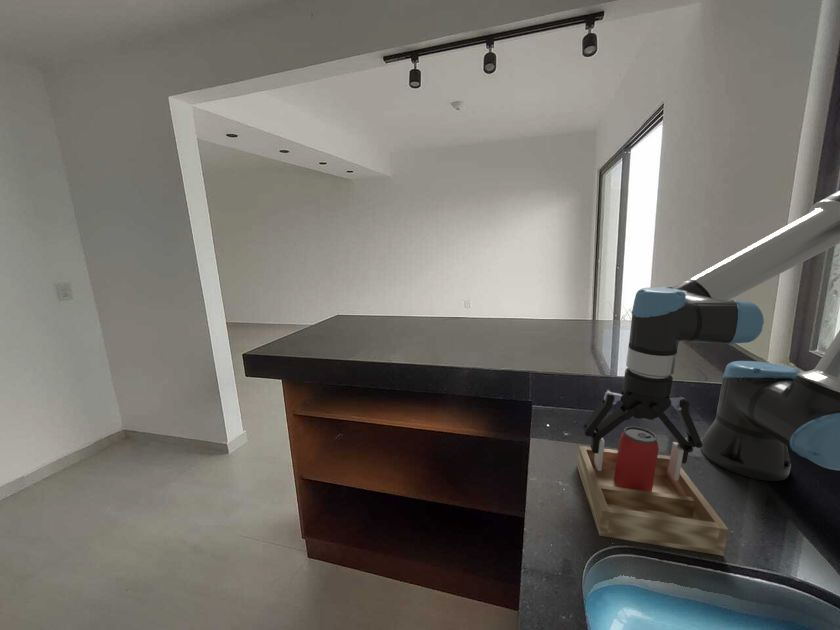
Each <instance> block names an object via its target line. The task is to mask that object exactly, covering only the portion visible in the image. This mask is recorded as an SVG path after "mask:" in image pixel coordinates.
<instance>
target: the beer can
mask: <svg viewBox="0 0 840 630" xmlns="http://www.w3.org/2000/svg"><path fill="white" fill-rule="evenodd" d="M657 440H658V437H657V435H656V434H655V433H654V432H652V431H650V430H648V429H646V428H643V427H639V426H626V427H625V428H623V432H622V433H621V435H620V437H619V441H618V446H617V450H618V454H617V461H616V469H615V476H614V481H615V484H616V485H617V486H618V487H620V488H627V489H635V490H642V491H650V492H652V487H653V481H654V475H655V469H656V463H657V456H658V455H659V450H660V449H659V444H658V441H657Z"/></svg>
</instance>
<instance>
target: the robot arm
mask: <svg viewBox="0 0 840 630" xmlns="http://www.w3.org/2000/svg"><path fill="white" fill-rule="evenodd" d="M839 244H840V190H837V191H836V192H834V193H832V194H830V195H829V196H826V197H825V198H823V199H821V200H819V201H817V202H816V203H814V204H813V205H811V207H810V208H809V210H808V213H807V214H805V215H803V216H801V217H800V218H797V219H796V220H794V221H792V222H790V223H789V224H786V225H784V226H783V227H781V228H780V229H778V230H775V231H774V232H772V233H770V234H768V235H766V236H765V237H763V238H761V239H759V240H758V241H756V242H754V243H752V244H749V246H747V247H745V248H743V249H740V250H739V251H737V252H735V253H734V254H732V255H730V256H728V257H727V258H725V259H722V261H719V262H717V263H714V264H713V265H712V266H710V267H708V268H706V269H704V270H703V271H701V272H699V273H697V274H695V275H693V276H691V277H690V278H688V279H686V280H684V281H682V282H680V283H679V284H677V285H675V286H661V287H660V286H659V287H656V286H655V287H653V286H652V287H644V288H641V289H638V290H637V292H635V293H636V294H635V297H634V300H633V306H632V309H631V321H630V332H629V339H628V340H629V341H628V347H627V355H626V364H625V366H626V367H627V368H625V370H624V377H623V387H622V391H621V392H620V393H618V392H612V391H611V390H610V389H605V390H604V391H603V395H602V399H601V401H600V402H599V403H598V404H597V406H596V407H595V408H594V410H593V411H592V413H591V414H590V416H589V417H588V418H587V420H586V421H585V422H584V423H583V425H582V428H581V429H582V430H583V433H584V435H585V436H586V437H591V438H590V447H591V449H592V452H593V453H595V457H594V463H595V466H596V468H597V470H598V471H601V469H602V461H603V452H604V449H605V442H606V441H605V440H604V437H605V436H607V435H608V434H609V433H611V431H613V430H614V429H615V428H617V427H618V426H619V425H621V424H622V423H623V422H624V421H628V420H630V419H631V418H632V417H633V418H635V419H641V420H642V419H646V420H651V421H654V420H655V419H656V418H657V419H660V421H661V422H662V423H663V425H664V426H665V427H666V428H667V430H668V431H669V432H670V433H671V434H672V436H673V437H674V438H675V440H676V441H677V442H676V441H672V442H671V443H672V445H671V450H670V454H669V456H670V461H669V467H668V472H669V473H670V475H671V476H672V478H673V479H674V480H677V481H679V475H680V469H681V468H682V464H686V463H688V457H689V453H692V452H693V450H694V448H697V449H700V451H701V452H702V454H703V456H705V457H706V458H707V459H708V460H710V461H711V462H713V463H714V464H716V465H718V466H719V467H722V468H724V469H725V470H727V471H730V472H733V473H735V474H738V475H740V476H744V477H747V478H750V479H755V480H761V481H765V482H766V481H768V482H769V481H770V482H779V481H784V480H786V479H788V478H789V475H790V472H791V468H792V464H791V457H790V454H789V451H788V448H790V449H791V450H792V451H793V452H794V453H795V454H797V455H798V456H800V457H802V458H806V459H807V460H809V461H810V462H812V463H814V464H815V465H818V466H819V467H822V468H825V469H828V470H832V471H833V470H834V471H839V472H840V329H839V330H838V332H837V334H836V335H835V336H834V338H833V339H832V341H831V343H830V344H829V346H828V348H826V350H825V352H824V354H823V355H822V357H821V358H820V359H819V361H818V363H817V364H816V366H815V367H814V368H813V369H811V370H807V371H806V370H805V371H802V372H801V371H800V369H798V368H795V367H793V366H787V365H783V364H777V363H772V362H763V361H755V360H736V361H731V362H729V363H728V364H727V365H726V367H725V369H724V372H723V375H722V376H721V378H722V381H721V387H720V393H719V398H718V399H719V400H718V404H717V408H716V409H717V410H716V415H715V419H714V420H713V422H712V423H711V425H710V426H709V427H708V429H707V430H706V431H705V433H704V435H703V436H702V438H700V435H699V433H698V430H697V428H696V426H695V424H694V421H693V418H692V416H691V414H690V402H689V401H688V400H687V399H686V398H685V397H683V396H682V395H680V394H679V395H676V396H675V397H670V395H671V391H672V386H673V380H674V378H673V376H672V375H674V373H675V368H676V359H677V354H678V349H679V348H678V347H679V344H680V342H681V343H682V342H683V343H706V344H708V343H709V344H713V343H714V344H727V345H732V344H748V343H751V342H754V341H755V340H756V339H757V338H758V337H759V336H760V335H761V333H762V331H763V327H764V324H765V323H764V322H765V321H764V315H763V311H762V310H761V309H760V307H759V306H758V305H757V304H755V303H753V302H752V301H746V300H745V301H744V300H737V299H734V298H736V297H738V296H740V295H741V294H743V293H746V292H747V291H749V290H751V289H753V288H755V287H757V286H759V285H761V284H763V283H765V282H767V281H768V280H771V279H773V278H774V277H776V276H777V277H778V276H779V275H781V274H782V273H784V272H786V271H788V270H790V269H792V268H794V267H797V266H798V265H800V264H802V263H803V262H805V261H807V260H810V259H812V258H813V257H815V256H817V255H819V254H822V253H823V252H825V251H827V250H829V249H830V248H833V247H835V246H838V245H839ZM619 401H620V403H621V404H619V405H618V406H617V408H616V410H614V411H613V412H612V413H611V414H609V412H610V410H611V409H612V407H613V405H617V402H619ZM671 406H672V407H673V409H675V410H676V413H677V415H678V417H679V420H680V421H681V424H682V426H683V429H684V431H685V433H686V435H687V437H684V436H683V435H682V433H681V432H680V431H679V430H678V428H677V427H676V425H674V423H673V422H672V421H671V420H670V418H669V417H668V416H667V415H666V414H665V411H667V409H669V408H670V407H671ZM608 414H609V415H608ZM607 415H608V416H607ZM606 416H607V417H606ZM605 417H606V418H605Z"/></svg>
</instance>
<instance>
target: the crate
mask: <svg viewBox="0 0 840 630" xmlns="http://www.w3.org/2000/svg"><path fill="white" fill-rule="evenodd" d="M617 454H618V449H611V448H610V449H609V448H604V452H603V461H602V469H601V471H598V470H597V468H596V466H595V463H594V457H595V453H593V452H592V449H591V446H585V445H578V451H577V463H576V466H577V470H578V472H579V473H578V474H579V476H580V480H581V482H582V485H583V489H584V492H585V495H586V499H587V501H588V505H589V507H590V511H591V514H592V517H593V520H594V523H595V527H596V530H597V532H598V535H599V536H601V537H607V538H611V539H612V538H613V539H618V540H625V541H629V542H630V541H631V542H637V543H643V544H650V545H655V546H662V547H667V548H674V549H680V550H686V551H691V552H698V553H702V554H703V553H705V554H711V555H716V556H722V557H723V556H724V553H725V550H726V549H725V548H726V545H727V540H728V537H729V536H728V535H729V528H728V527H727V525H726V524H725V523H724V521H723V520H722V519H721V517H720V516H719V515H718V513H717V512H716V511H715V509H714V508H713V507H712V505H710V503H709V502H708V501H707V499H706V497H704V495H703V494H702V493H701V492H700V490H699V489H698V487H697V486H696V485H695V483H694V482H693V481H692V480H691V478H690V477H689V475H688V474H687V472H686V471H685V470H684V469H683V468H682V467H681V469H680V475H679V481H677V480H674V479H673V478H672V476H671V475H670V473H669V472H668V467H669V461H670V455H663V454H658V456H657V463H656V469H655V475H654V481H653V487H652V492H650V491H642V490H635V489H627V488H620V487H618V486H617V485H616V484H615V481H614V476H615V469H616V461H617Z"/></svg>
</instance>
